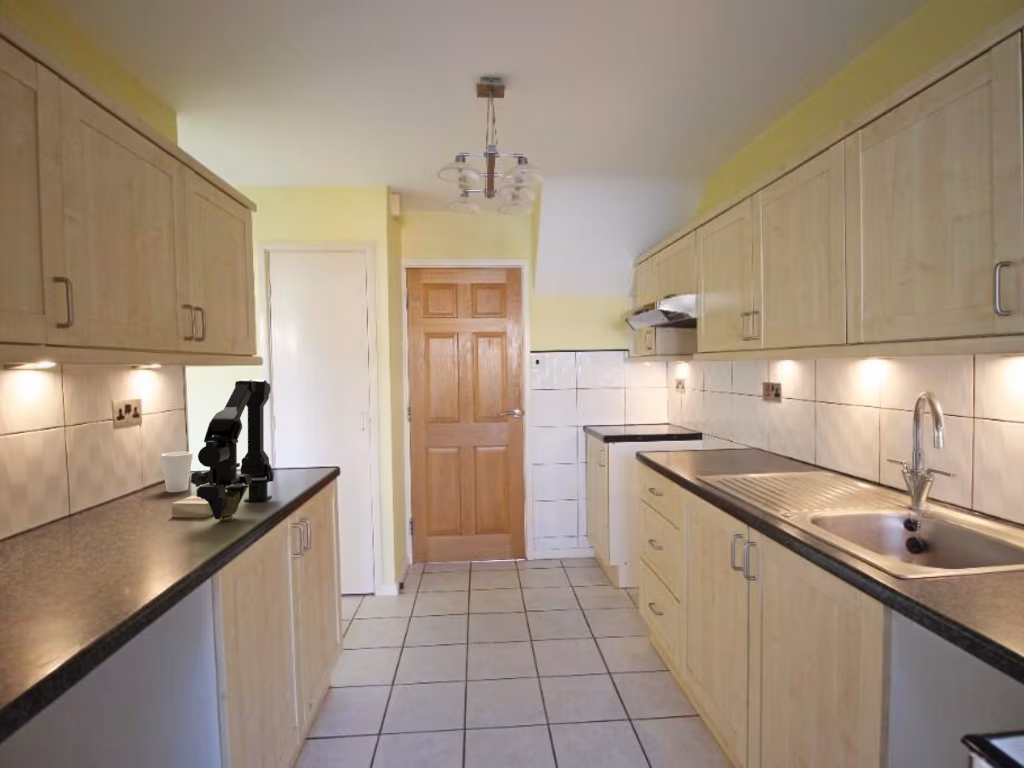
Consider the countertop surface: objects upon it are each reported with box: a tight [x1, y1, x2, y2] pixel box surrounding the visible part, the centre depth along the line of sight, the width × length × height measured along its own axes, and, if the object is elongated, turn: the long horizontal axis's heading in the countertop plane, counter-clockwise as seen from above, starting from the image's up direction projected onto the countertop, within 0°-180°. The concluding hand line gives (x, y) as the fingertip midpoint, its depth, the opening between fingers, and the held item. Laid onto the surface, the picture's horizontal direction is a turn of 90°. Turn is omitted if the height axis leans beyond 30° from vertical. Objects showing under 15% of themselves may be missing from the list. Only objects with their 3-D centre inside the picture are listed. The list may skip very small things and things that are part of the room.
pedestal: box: [171, 494, 213, 518], centre depth 163 cm, size 10×10×4 cm
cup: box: [218, 490, 240, 523], centre depth 155 cm, size 8×7×8 cm
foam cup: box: [160, 451, 194, 493], centre depth 193 cm, size 10×9×13 cm
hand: (225, 515), depth 155 cm, fingers open, 8 cm apart
